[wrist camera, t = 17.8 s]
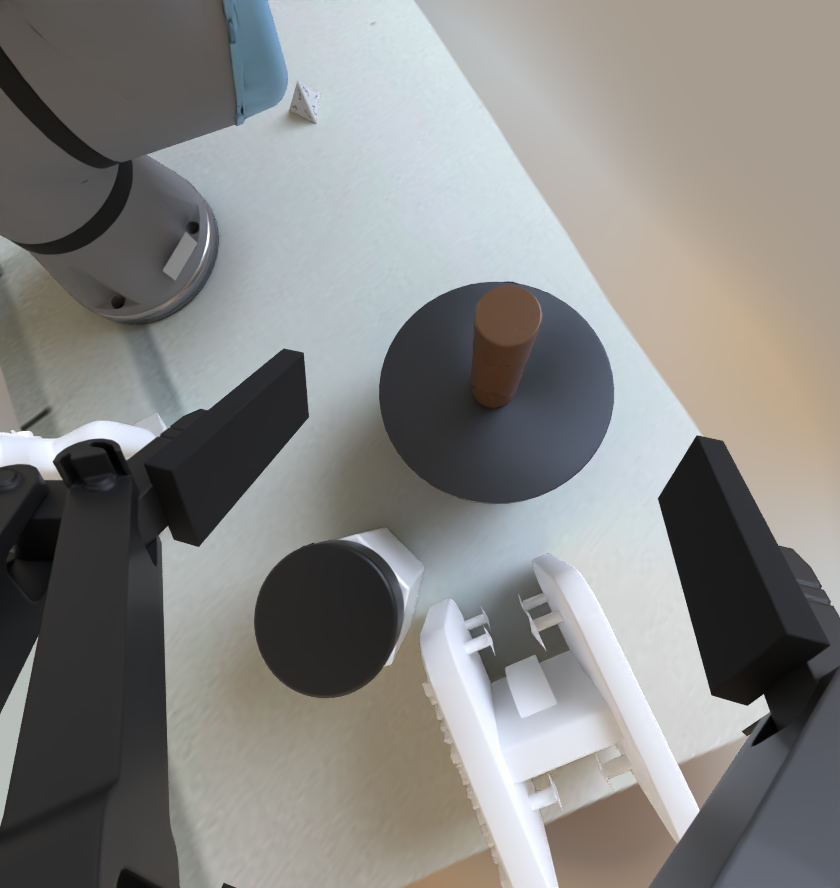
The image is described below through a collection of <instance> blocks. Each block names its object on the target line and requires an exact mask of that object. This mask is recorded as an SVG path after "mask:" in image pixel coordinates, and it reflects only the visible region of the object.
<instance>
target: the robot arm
mask: <svg viewBox="0 0 840 888" xmlns="http://www.w3.org/2000/svg"><path fill="white" fill-rule="evenodd" d="M287 84H288V73H287V68H286V64H285V60H284V56H283V53H282V49H281V46H280V42H279V38H278V35H277V31H276V28H275V24H274V20H273V17H272V13H271V10H270V6H269V3H268V0H0V235H1V236H3V237H5V238H7V239H9V240H10V241H12V242H14V243H15V244H17V245H19V246H20V247H22V248H24V249H25V250H27V251H29V252H30V253H31V254H32V255H33V256H34V257H35V258H36V259H37V261H38V262H39V263H40V264H41V265H42V266H43V267H44V268H45V269H46V270H47V271H48V272H49V273H50V274H51V275H52V276H53V277H54V278H55V279H56V280H57V281H58V282H59V283H60V284H61V285H62V287H63V288H64V289H65V290H66V291H67V292H68V293H69V294H70V295H71V296H72V297H73V298H75V299H76V300H77V301H78V302H79V303H80V304H81V305H83V306H84V307H86V308H88V309H89V310H91V311H93V312H95V313H97V314H99V315H101V316H103V317H104V318H107V319H109V320H112V321H115V322H118V323H123V324H143V323H149V322H153V321H157V320H160V319H162V318H165V317H167V316H169V315H171V314H173V313H175V312H176V311H178V310H179V309H181V308H182V307H183V306H185V305H186V304H187V303H188V302H189V301H191V300H192V299H193V298H194V297H195V295H196V294H197V293H198V292H199V291H200V290H201V288H202V287H203V286H204V284H205V282H206V281H207V279H208V277H209V275H210V274H211V271H212V269H213V267H214V264H215V260H216V257H217V252H218V244H219V236H218V228H217V223H216V220H215V216H214V214H213V212H212V210H211V208H210V207H209V205H208V204H207V202H206V201H205V200H204V198H203V197H202V196H201V195H200V194H199V193H198V191H197V190H196V189H195V188H194V187H193V186H192V185H191V184H190V183H189V182H188V181H187V180H186V179H184V178H183V177H181V176H180V175H179V174H177V173H176V172H174V171H172V170H171V169H169V168H167V167H166V166H164V165H162V164H161V163H159V162H157V161H156V160H154V159H152V158H151V157H149V156H147V155H146V154H149V153H152V152H155V151H158V150H161V149H164V148H167V147H170V146H173V145H176V144H179V143H182V142H185V141H188V140H191V139H194V138H197V137H200V136H203V135H205V134H208V133H211V132H214V131H217V130H220V129H223V128H226V127H229V126H232V125H236V126H239V125H240V124H243V122H244V120H245V119H246V118H248V117H250V116H253V115H255V114H257V113H259V112H262V111H264V110H266V109H269V108H271V107H273V106H275V105H277V103H278V102H280V100H281V99H282V98H283V96H284V94H285V91H286V89H287ZM308 418H309V413H308V401H307V388H306V376H305V364H304V353H302V352H298V351H293V350H288V349H283V350H281V351H280V352H279V353H278V354H276V355H275V356H274V357H273V358H272V359H270V360H269V361H268V362H267V363H265V364H264V365H263V366H262V367H261V368H259V369H258V370H257V371H256V372H254V373H253V374H252V375H251V376H250V377H248V378H247V379H246V380H245V381H243V382H242V383H241V384H240V385H239V386H237V387H236V388H235V389H234V390H232V391H231V392H230V393H229V394H228V395H226V396H225V397H224V398H223V399H221V400H220V401H219V402H218V403H217V404H215V405H214V406H213V407H212V408H210V409H209V410H203V409H199V410H197V411H194V412H192V413H190V414H187V415H185V416H183V417H182V418H180V419H179V420H178V421H177V422H175V423H174V424H173V425H171V427H170V429H169V428H168V429H166V430H165V431H164V432H162V433H161V434H160V437H158V436H157V437H156V438H155V439H153V440H152V441H151V442H150V443H148V444H147V445H146V446H144V447H143V448H142V449H141V450H139V451H138V452H137V453H136V454H134V455H133V456H132V457H130V458H129V459H128V460H127V461H126V459H125V457H124V454H123V452H122V450H121V447H120V445H119V444H118V443H117V442H115V441H113V440H110V439H104V438H100V439H89V440H85V441H81V442H77V443H75V444H73V445H71V446H69V447H66V448H65V449H64V450H62V451H61V452H60V453H58V454H57V455H56V457H55V458H54V460H53V464H54V466H55V467H56V469H57V471H58V473H59V474H60V476H61V478H62V480H44V479H43V477H42V476H41V474H40V472H39V471H38V469H37V468H36V467H34V466H32V465H29V464H14V465H8V466H4V467H0V713H1V711H2V709H3V707H4V705H5V703H6V701H7V698H8V696H9V694H10V693H11V690H12V688H13V686H14V684H15V682H16V680H17V678H18V676H19V674H20V672H21V670H22V668H23V666H24V664H25V662H26V659H27V658H28V656H29V654H30V652H31V649H32V647H33V645H34V643H35V641H36V639H37V637H38V642H37V647H36V652H35V657H34V662H33V667H32V672H31V677H30V682H29V687H28V693H27V698H26V703H25V708H24V713H23V718H22V724H21V728H20V733H19V739H18V744H17V749H16V754H15V759H14V764H13V769H12V774H11V779H10V785H9V790H8V795H7V800H6V805H5V810H4V815H3V819H2V822H1V826H0V888H180V886H179V868H178V857H177V851H176V846H175V842H174V838H173V835H172V831H171V826H170V816H169V788H168V753H167V718H166V683H165V649H164V614H163V579H162V544H161V541H160V538H159V534H160V533H161V532H162V531H163V530H164V529H165V528H166V527H167V526H169V529H170V531H171V534H172V536H173V539H174V540H177V541H180V542H184V543H187V544H191V545H194V546H198V547H199V546H200V545H201V544H202V543H203V541H204V540H205V539H206V538H207V537H208V535H209V534H210V533H211V532H212V531H213V530H214V528H215V527H216V526H217V525H218V524H219V522H220V521H221V520H222V519H223V518H224V517H225V515H226V514H227V513H228V512H229V511H230V509H231V508H232V507H233V506H234V505H235V504H236V502H237V501H238V500H239V499H240V498H241V497H242V495H243V494H244V493H245V492H246V491H247V489H248V488H249V487H250V486H251V485H252V484H253V482H254V481H255V480H256V479H257V478H258V476H259V475H260V474H261V473H262V472H263V471H264V469H265V468H266V467H267V466H268V465H269V464H270V462H271V461H272V460H273V459H274V458H275V456H276V455H277V454H278V453H279V452H280V451H281V449H282V448H283V447H284V446H285V445H286V443H287V442H288V441H289V440H290V439H291V438H292V436H293V435H294V434H295V433H296V432H297V430H298V429H299V428H300V427H301V426H302V425H303V423H304V422H305V421H306V420H307V419H308ZM658 500H659V504H660V508H661V511H662V515H663V519H664V522H665V526H666V530H667V533H668V537H669V541H670V544H671V548H672V552H673V555H674V559H675V563H676V566H677V570H678V574H679V577H680V581H681V585H682V588H683V592H684V596H685V599H686V603H687V607H688V611H689V614H690V618H691V622H692V625H693V629H694V633H695V636H696V640H697V644H698V647H699V651H700V655H701V658H702V662H703V666H704V669H705V673H706V677H707V680H708V684H709V688H710V691H711V695H712V696H716V697H719V698H723V699H726V700H729V701H733V702H736V703H740V704H743V705H747V706H748V705H749V704H751V703H752V702H753V701H755V700H756V699H757V698H759V697H760V696H762V695H763V694H764V696H765V699H766V701H767V704H768V707H769V710H770V713H768V714H767V715H765V716H764V717H762V718H761V719H759V720H758V721H756V722H755V723H753V724H752V725H750V726H749V727H747V728H746V729H744V730H743V731H742V732H743V733H744V734H745V735H746V736H748V735H750V736H749V738H748V739H747V740H746V742H745V743H744V745H743V746H742V748H741V749H740V751H739V752H738V754H737V756H736V757H735V759H734V760H733V761H732V763H731V765H730V766H729V768H728V769H727V771H726V772H725V774H724V775H723V776H722V778H721V780H720V781H719V783H718V784H717V786H716V787H715V789H714V790H713V792H712V793H711V795H710V796H709V798H708V799H707V801H706V802H705V804H704V805H703V807H702V808H701V810H700V811H699V813H698V814H697V816H696V817H695V819H694V820H693V822H692V823H691V825H690V826H689V828H688V829H687V831H686V832H685V834H684V835H683V837H682V838H681V840H680V841H679V843H678V844H677V846H676V847H675V849H674V850H673V852H672V853H671V855H670V856H669V858H668V859H667V861H666V862H665V864H664V865H663V867H662V868H661V870H660V871H659V873H658V874H657V876H656V877H655V879H654V880H653V882H652V883H651V885H650V886H649V888H840V617H839V615H838V613H837V612H836V610H835V608H834V606H831V605H830V602H831V601H830V600H829V598H828V596H827V594H826V593H825V591H824V590H822V589H821V587H822V586H821V584H820V582H819V580H818V579H817V577H816V575H815V574H814V572H813V570H812V568H811V567H810V566H809V565H808V564H807V563H806V562H805V561H804V560H803V559H802V558H801V557H800V556H799V555H798V554H797V553H796V552H795V551H794V550H793V549H791V548H787V547H782V546H778V544H777V542H776V540H775V538H774V537H773V535H772V533H771V531H770V529H769V527H768V525H767V523H766V521H765V519H764V518H763V516H762V514H761V512H760V510H759V508H758V506H757V504H756V503H755V500H754V499H753V497H752V495H751V493H750V491H749V489H748V487H747V485H746V484H745V482H744V480H743V478H742V476H741V474H740V472H739V470H738V469H737V467H736V464H735V463H734V461H733V459H732V457H731V455H730V453H729V451H728V449H727V447H726V446H725V444H724V442H723V441H721V440H716V439H711V438H707V437H702V436H696V437H695V439H694V441H693V442H692V444H691V446H690V447H689V449H688V450H687V452H686V454H685V455H684V457H683V459H682V460H681V462H680V463H679V465H678V467H677V468H676V470H675V472H674V473H673V475H672V476H671V478H670V480H669V481H668V483H667V485H666V486H665V488H664V489H663V491H662V493H661V494H660V496H659V498H658ZM10 550H11V551H10ZM9 552H10V553H9ZM38 635H39V636H38ZM222 888H235V887H233V886H230V885H228V884H225V883H223V886H222Z"/></svg>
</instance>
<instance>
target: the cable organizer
mask: <svg viewBox="0 0 840 888" xmlns="http://www.w3.org/2000/svg"><path fill="white" fill-rule="evenodd" d="M532 565H533V569H534V572H535V575H536V578H537V580H538V583H539V585H540V587H541V589H542V592H543V593H541V594H538V595H536V596H533V597H531V598H529V599H526V600H524V601H521V599H520V597H519V599H520V603H521V607H522V608H523V610H524V611H525V613H526V614H527V612H526V611H527V610H529V609H532V608H534V607H537V606H539V605H541V604H544V603H546V602H548V604H549V607H550V609H551V611H552V612H551V613H549V614H546V615H544V616H542V617H539V618H537V619H534V620H532V618H531V616H530V614H529V612H528V614H527V615H529V616H528V617H529V620H530V626H531V631H532V634H533V635H534V636H535V638H536V639H537V640H538V641H539V643H540V644H541V645H542V646H543V648H544V649H545V646H544V644H543V642H542V640H541V638H540V635H539V633H538V632H539V631H541V630H544V629H546V628H548V627H551V626H553V625H556V624H558V626H559V628H560V630H561V633H562V635H563V637H564V639H565V641H566V643H567V645H568V648H569V651H566V652H564V653H561V654H559V655H557V656H554V657H552V658H549V659H547V660H545V661H542V662H540V663H539V662H538V659H537V657H536V655H533V656H530V657H528V658H526V659H523V660H521V661H519V662H516V663H514V664H511V665H509V666H507V667H505V673H506V677H504V678H502V679H499V680H497V681H495V682H493V683H491V681H490V679H489V676H488V674H487V672H486V669H485V667H484V665H483V662H482V660H481V658H480V655H479V653H478V650H481V649H483V648H485V647H488V646H490V645H491V647H492V650H493V652H494V647H493V642H492V638H491V636H490V635H489V633H488V631H487V630H486V629H485V627H484V626H483V627H484V629H485V632H486V634H484V635H481V636H479V637H477V638H474V639H472V636H471V634H470V632H469V630H471V629H474V628H476V627H478V626H481V625H483V624H485V623H487V624H488V626H489V629H490V625H489V620H488V617H487V615H486V614H485V612H484V611H483V609H482V608H481V609H482V611H483V614H480V615H478V616H475V617H473V618H471V619H468V620H466V621H465V620H464V618H463V616H462V614H461V612H460V610H459V608H458V607H457V605H456V604H455V602H454V601H453V600H452V599H451V598H448V599H446V600H444V601H441V602H439V603H437V604H434V605H432V606H431V607H430V610H429V612H428V615H427V618H426V620H425V623H424V626H423V628H422V631H421V634H420V637H419V646H420V652H421V657H422V661H423V665H424V668H425V672H426V675H427V681H426V683H423V684H422V686H423V688H424V691H425V694H426V696H427V698H428V697H430V701H431V704H432V705H435V704H436V705H435V713H436V716H437V719H438V720H440V719H442V720H441V723H440V726H441V732H442V731H443V732H444V743H445V742H447V744H450V743H451V750H450V757H451V759H452V762H453V763H454V764H456V767H457V768H458V772H459V774H461V779H462V782H463V784H464V785H466V784H467V789H466V792H467V798H469V799H471V804H472V807H473V809H476V815H477V819H478V822H479V825H481V830H482V836H485V838H486V842H487V845H488V847H491V850H492V857H493V859H494V862H495V864H497V863H499V874H500V883H501V885H502V888H559V887H558V883H557V878H556V874H555V870H554V866H553V862H552V858H551V854H550V849H549V845H548V841H547V837H546V833H545V828H544V824H543V820H542V815H541V811H540V809H541V808H544V807H546V806H549V805H551V804H554V803H556V802H559V805H560V807H561V803H560V799H559V795H558V791H557V788H556V786H555V784H554V782H553V780H552V778H551V777H550V775H549V776H548V777H549V780H550V782H551V785H552V786H551V787H548V788H546V789H543V790H541V791H538V792H536V791H535V788H534V785H533V782H532V779H531V778H533V777H536V776H538V775H540V774H543V773H545V772H548V771H550V770H553V769H555V768H558V767H560V766H563V765H565V764H567V763H570V762H572V761H575V760H577V759H580V758H582V757H585V756H587V755H590V754H592V753H594V752H597V751H599V750H602V749H604V748H607V747H609V746H612V745H614V744H615V746H616V747H617V749H618V751H619V752H620V754H621V755H622V756H619V757H617V758H614V759H612V760H609V761H607V762H605V763H602V764H601V763H600V761H599V759H598V757H597V755H596V754H595V755H596V758H597V761H598V764H599V767H600V770H601V772H602V774H603V776H604V777H605V779H606V780H607V782H608V784H609V785H610V782H609V780H608V779H610V778H612V777H615V776H617V775H620V774H622V773H625V772H627V771H630V770H631V772H632V773H633V775H634V776H635V778H636V780H637V781H638V783H639V785H640V786H641V788H642V789H643V791H644V793H645V794H646V796H647V797H648V799H649V801H650V802H651V804H652V805H653V807H654V809H655V810H656V812H657V814H658V815H659V817H660V819H661V820H662V822H663V823H664V825H665V827H666V828H667V830H668V831H669V833H670V834H671V836H672V837H673V839H674V840H675V842H676V843H677V844H678V843H679V841H680V840H681V838H682V837H683V835H684V834H685V832H686V831H687V829H688V828H689V826H690V825H691V823H692V822H693V820H694V819H695V817H696V816H697V814H698V813H699V811H700V810H699V808H698V806H697V804H696V802H695V799H694V797H693V795H692V793H691V791H690V789H689V787H688V785H687V783H686V781H685V779H684V777H683V775H682V773H681V771H680V769H679V766H678V764H677V762H676V760H675V758H674V756H673V754H672V752H671V750H670V748H669V746H668V744H667V742H666V740H665V738H664V736H663V734H662V731H661V729H660V727H659V725H658V723H657V721H656V719H655V717H654V715H653V713H652V711H651V709H650V707H649V705H648V703H647V701H646V699H645V696H644V694H643V692H642V690H641V688H640V686H639V684H638V682H637V680H636V678H635V676H634V674H633V672H632V670H631V668H630V666H629V664H628V661H627V659H626V657H625V655H624V653H623V651H622V649H621V647H620V645H619V643H618V641H617V639H616V637H615V635H614V633H613V631H612V629H611V626H610V624H609V622H608V620H607V618H606V616H605V614H604V612H603V610H602V608H601V606H600V604H599V602H598V600H597V599H596V597H595V595H594V593H593V592H592V590H591V588H590V587H589V585H588V583H587V582H586V580H585V579H584V578H583V576H582V575H581V574H580V572H579V571H578V570H577V569H576V568H574V567H573V566H571V565H569V564H567V563H566V562H564V561H562V560H560V559H559V558H557V557H555V556H553V555H552V554H550V553H547V554H545V555H542V556H540V557H538V558H535V559H533V560H532ZM518 595H519V594H518ZM490 631H491V630H490ZM545 650H546V649H545ZM494 654H495V652H494ZM547 775H548V774H547ZM610 787H611V785H610ZM611 788H612V787H611ZM612 790H613V789H612ZM613 792H614V791H613ZM561 809H562V807H561ZM562 812H563V811H562Z"/></svg>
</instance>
